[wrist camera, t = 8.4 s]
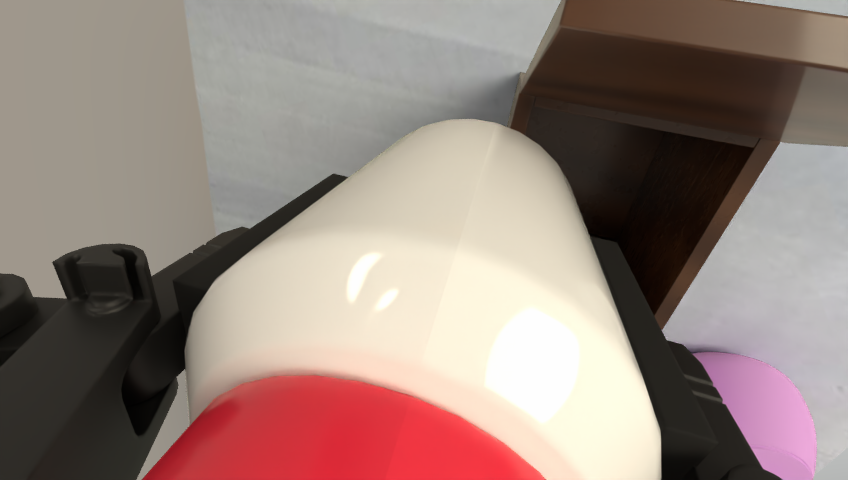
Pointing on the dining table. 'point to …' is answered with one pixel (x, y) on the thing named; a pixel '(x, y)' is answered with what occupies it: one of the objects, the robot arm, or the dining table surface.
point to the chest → (647, 185)
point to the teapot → (766, 413)
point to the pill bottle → (420, 332)
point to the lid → (701, 65)
